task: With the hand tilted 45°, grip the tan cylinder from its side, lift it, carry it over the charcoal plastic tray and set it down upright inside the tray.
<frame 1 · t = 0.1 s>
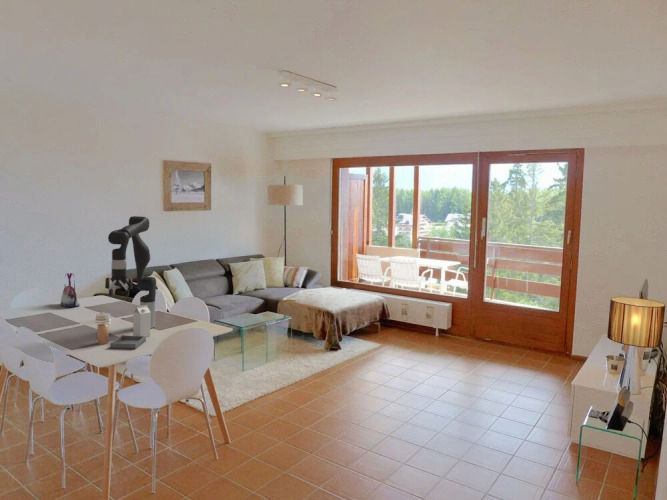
hand: (119, 296, 272), 29 cm above the table, tool pointing down, fingers open, 8 cm apart
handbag: (70, 306, 369), on the table
milk carton: (141, 336, 299), on the table
tray: (128, 344, 281), on the table
tan cylinder: (103, 343, 282), on the table
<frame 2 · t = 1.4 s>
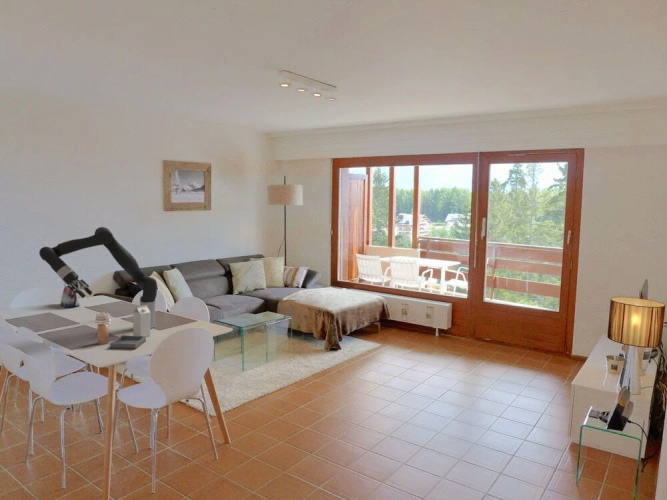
hand: (87, 295, 282), 27 cm above the table, tool tilted 45°, fingers open, 8 cm apart
nothing on the table moved.
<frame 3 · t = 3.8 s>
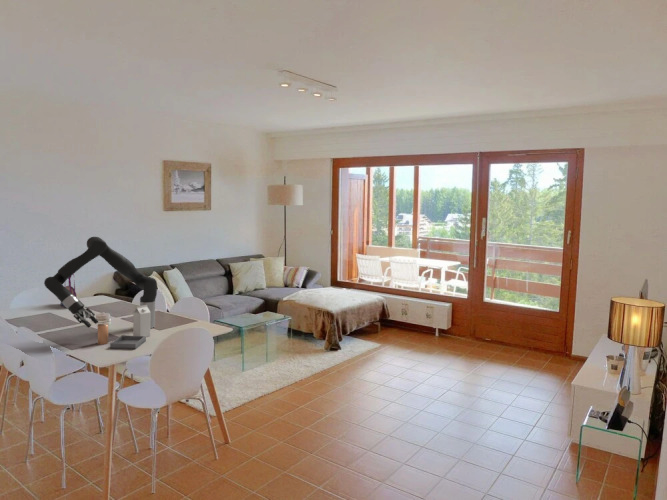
hand: (93, 324, 281), 11 cm above the table, tool tilted 45°, fingers open, 8 cm apart
nothing on the table moved.
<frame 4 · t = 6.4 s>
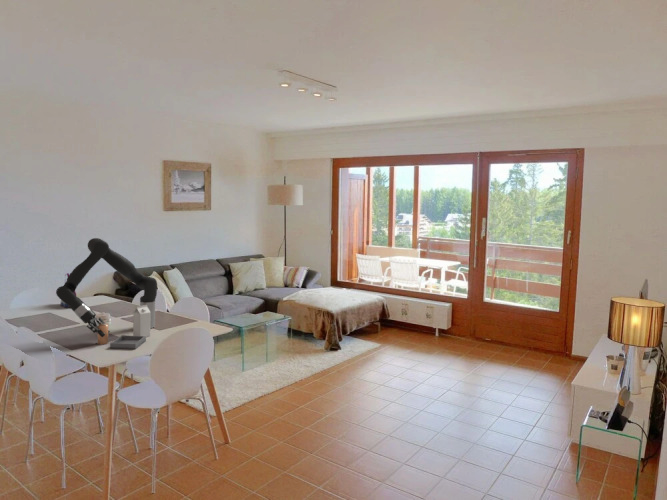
hand: (106, 334, 281), 5 cm above the table, tool tilted 45°, fingers closed on tan cylinder, 5 cm apart
tan cylinder: (103, 343, 282), on the table, touching gripper
everything else where it was.
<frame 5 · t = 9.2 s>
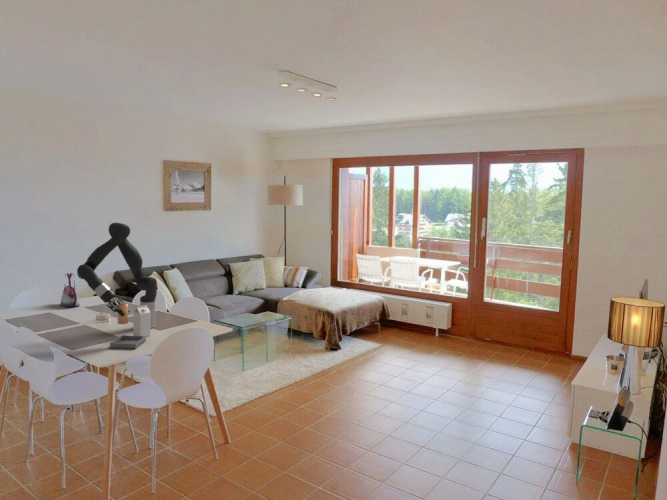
hand: (126, 314, 280), 18 cm above the table, tool tilted 45°, fingers closed on tan cylinder, 5 cm apart
tan cylinder: (122, 322, 280), point 13 cm above the table, touching gripper
everything else where it was.
when the fingers open (7 cm above the table, at t = 12.4 s): tan cylinder drops 1 cm, resting on tray.
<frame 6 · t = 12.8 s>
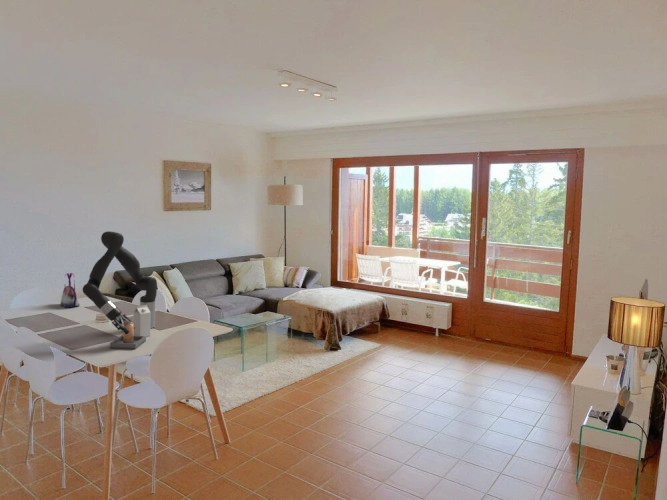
hand: (130, 331, 280), 8 cm above the table, tool tilted 45°, fingers open, 8 cm apart
tan cylinder: (128, 343, 281), point 1 cm above the table, touching tray
everything else where it was.
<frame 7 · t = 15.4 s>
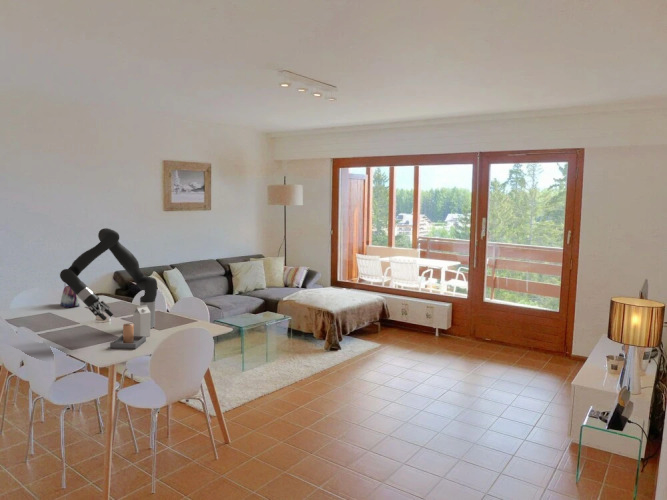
hand: (108, 317, 279), 15 cm above the table, tool tilted 45°, fingers open, 8 cm apart
nothing on the table moved.
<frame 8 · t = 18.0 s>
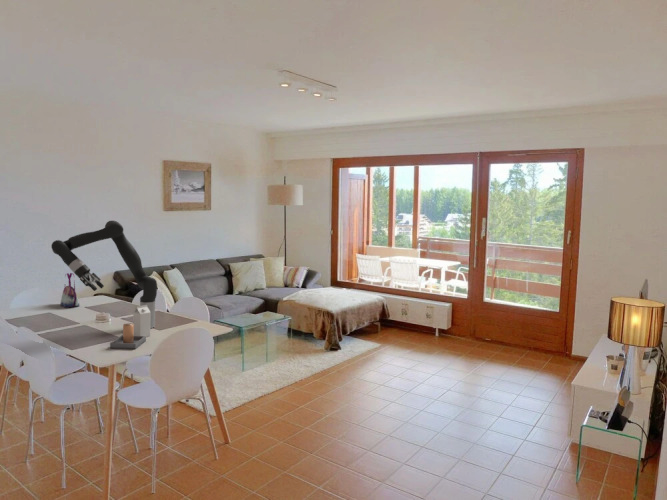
hand: (99, 288, 284), 31 cm above the table, tool tilted 45°, fingers open, 8 cm apart
nothing on the table moved.
at the end: tan cylinder inside the target area on the tray (0.1 cm from its centre), point 0.8 cm above the tray's base; tan cylinder tilted 0°; the gripper is holding nothing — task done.
